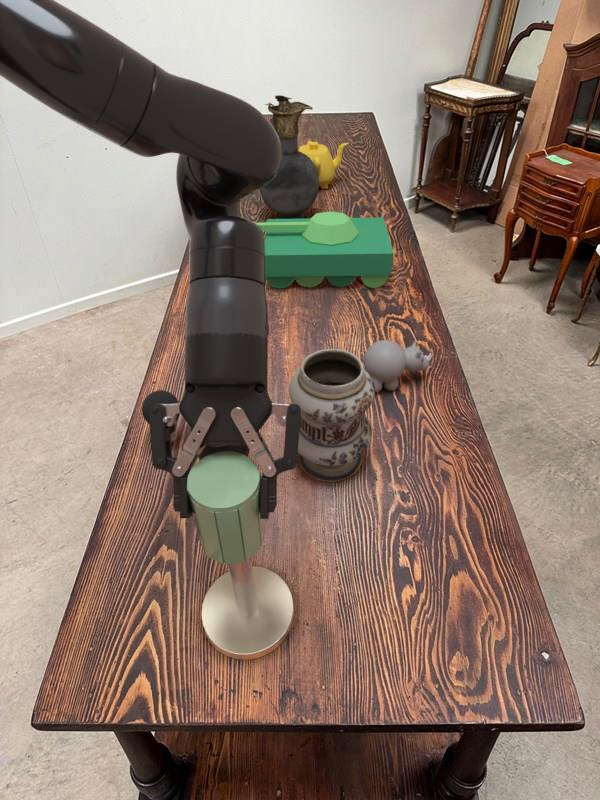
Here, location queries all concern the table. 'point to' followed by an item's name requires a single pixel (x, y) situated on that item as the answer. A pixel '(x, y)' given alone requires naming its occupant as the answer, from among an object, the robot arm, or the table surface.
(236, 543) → the green grooved cylinder
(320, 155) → the teapot
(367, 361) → the chubby cartoon animal
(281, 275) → the toy tank
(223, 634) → the towel holder
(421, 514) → the table surface
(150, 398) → the light bulb
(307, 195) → the pitcher
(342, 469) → the apothecary jar
